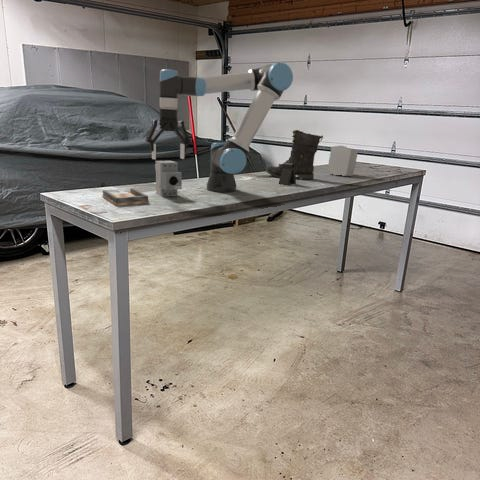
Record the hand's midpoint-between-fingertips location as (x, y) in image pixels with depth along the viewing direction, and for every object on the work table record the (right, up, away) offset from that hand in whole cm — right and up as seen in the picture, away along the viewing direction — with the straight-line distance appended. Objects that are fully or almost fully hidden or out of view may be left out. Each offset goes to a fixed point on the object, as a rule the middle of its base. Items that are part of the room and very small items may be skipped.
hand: (168, 158), depth 182 cm
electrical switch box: (+101, +8, +98) cm, 141 cm away
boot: (+64, +3, +76) cm, 99 cm away
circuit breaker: (-1, -16, +5) cm, 17 cm away
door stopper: (+59, -4, +52) cm, 78 cm away
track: (-17, -19, -8) cm, 27 cm away
